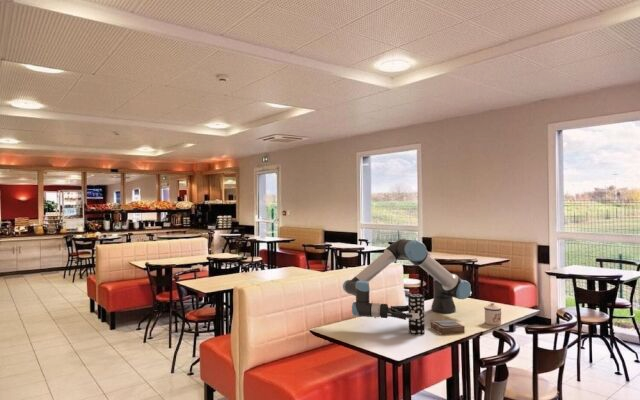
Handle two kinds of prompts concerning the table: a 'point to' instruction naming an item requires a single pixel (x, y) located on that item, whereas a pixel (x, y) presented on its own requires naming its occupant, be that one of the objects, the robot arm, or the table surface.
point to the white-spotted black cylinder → (416, 307)
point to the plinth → (447, 327)
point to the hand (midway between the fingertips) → (420, 312)
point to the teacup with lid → (492, 314)
